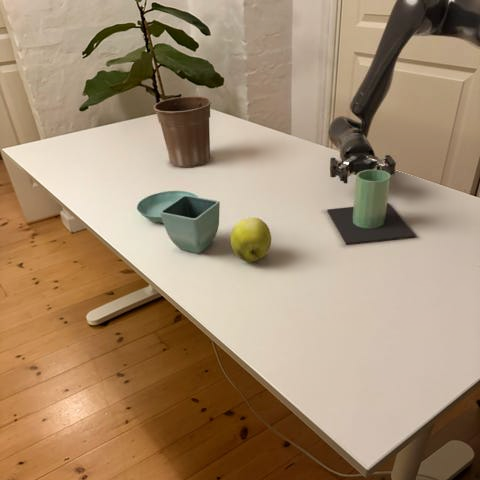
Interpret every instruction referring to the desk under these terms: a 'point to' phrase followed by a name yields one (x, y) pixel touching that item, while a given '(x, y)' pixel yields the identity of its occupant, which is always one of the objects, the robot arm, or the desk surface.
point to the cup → (371, 198)
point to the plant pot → (185, 129)
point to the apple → (251, 239)
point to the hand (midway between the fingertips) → (366, 178)
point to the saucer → (159, 203)
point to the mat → (356, 235)
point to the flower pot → (192, 222)
